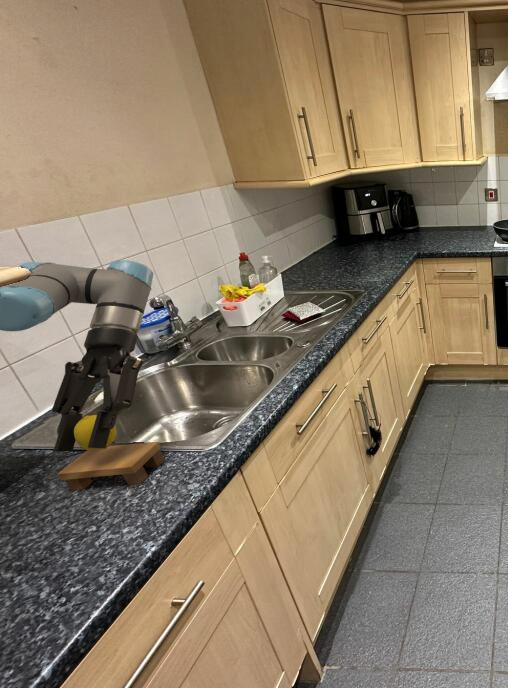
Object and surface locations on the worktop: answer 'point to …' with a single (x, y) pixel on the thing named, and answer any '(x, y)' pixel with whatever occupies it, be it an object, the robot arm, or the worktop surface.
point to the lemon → (90, 432)
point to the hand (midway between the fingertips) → (80, 449)
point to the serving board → (112, 464)
